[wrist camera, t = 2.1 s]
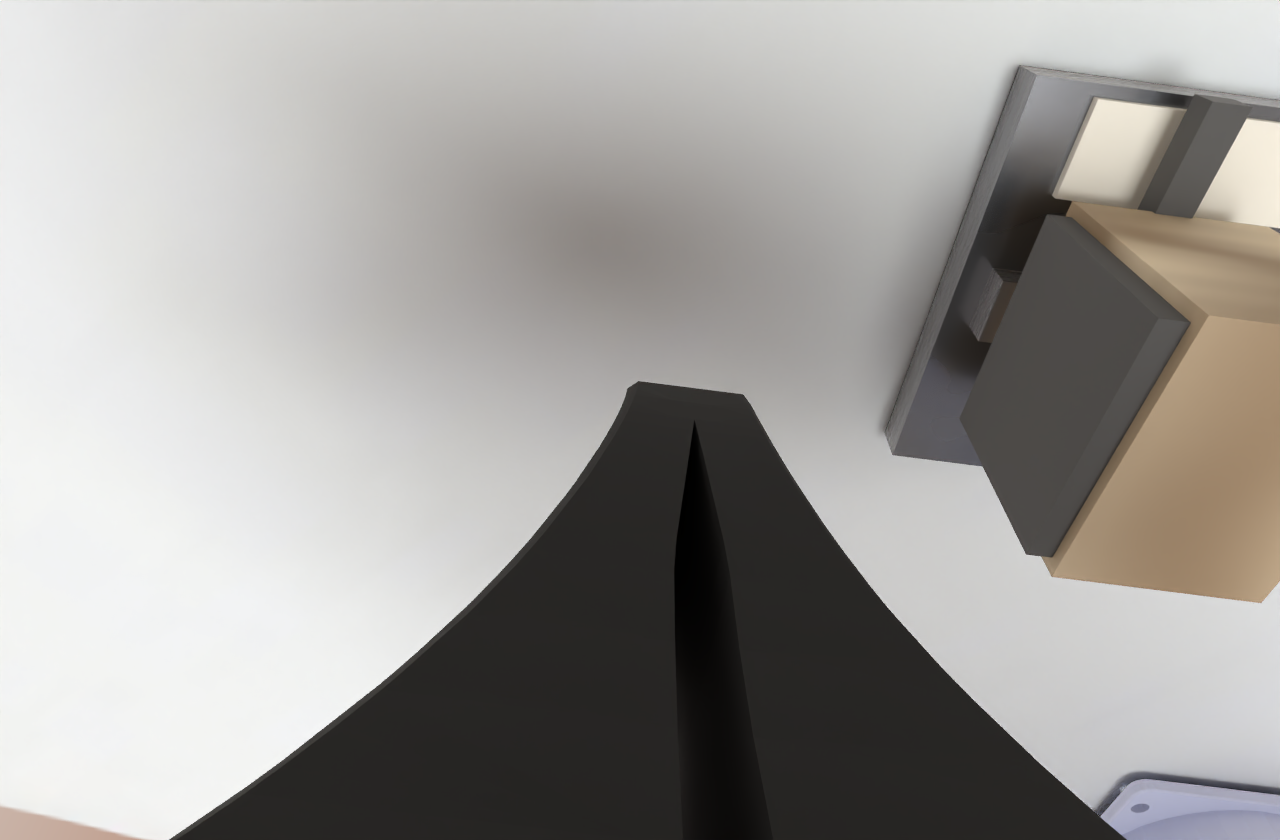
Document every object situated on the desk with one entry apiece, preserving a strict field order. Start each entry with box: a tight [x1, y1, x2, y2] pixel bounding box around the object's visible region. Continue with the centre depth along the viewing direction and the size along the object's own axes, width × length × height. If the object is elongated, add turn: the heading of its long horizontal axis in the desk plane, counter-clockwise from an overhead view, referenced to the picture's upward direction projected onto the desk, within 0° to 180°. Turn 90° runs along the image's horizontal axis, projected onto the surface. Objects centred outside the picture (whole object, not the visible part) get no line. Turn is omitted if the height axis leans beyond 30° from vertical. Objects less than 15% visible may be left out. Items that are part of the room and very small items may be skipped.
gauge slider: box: [959, 94, 1280, 603], centre depth 12 cm, size 4×6×4 cm, turn 174°
